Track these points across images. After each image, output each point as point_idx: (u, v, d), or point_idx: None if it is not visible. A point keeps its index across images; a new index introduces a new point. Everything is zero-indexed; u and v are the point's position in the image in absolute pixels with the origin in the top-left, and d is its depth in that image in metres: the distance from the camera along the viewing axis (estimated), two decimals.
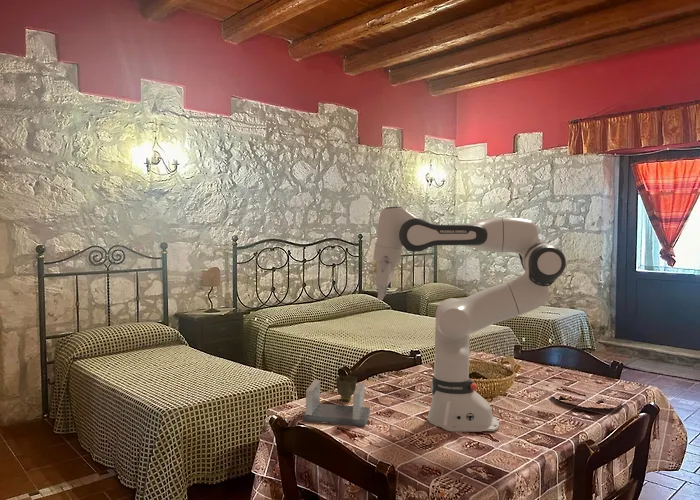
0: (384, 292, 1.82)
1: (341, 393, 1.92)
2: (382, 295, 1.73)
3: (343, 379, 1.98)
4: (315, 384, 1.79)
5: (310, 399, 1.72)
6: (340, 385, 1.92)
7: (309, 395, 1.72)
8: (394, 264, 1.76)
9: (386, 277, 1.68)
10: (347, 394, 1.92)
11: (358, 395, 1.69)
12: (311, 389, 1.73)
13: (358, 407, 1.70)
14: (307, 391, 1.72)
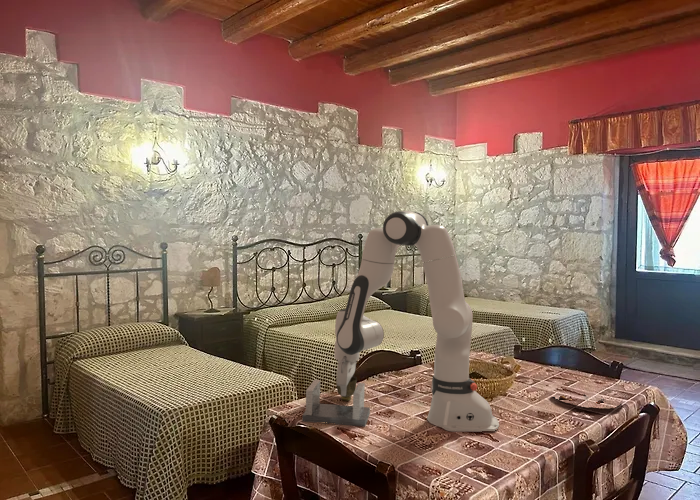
0: None
1: None
2: (345, 391, 1.89)
3: None
4: (315, 384, 1.79)
5: (310, 399, 1.72)
6: None
7: (309, 395, 1.72)
8: (353, 361, 1.92)
9: (345, 377, 1.84)
10: (347, 394, 1.92)
11: (358, 395, 1.69)
12: (311, 389, 1.73)
13: (358, 407, 1.70)
14: (307, 391, 1.72)
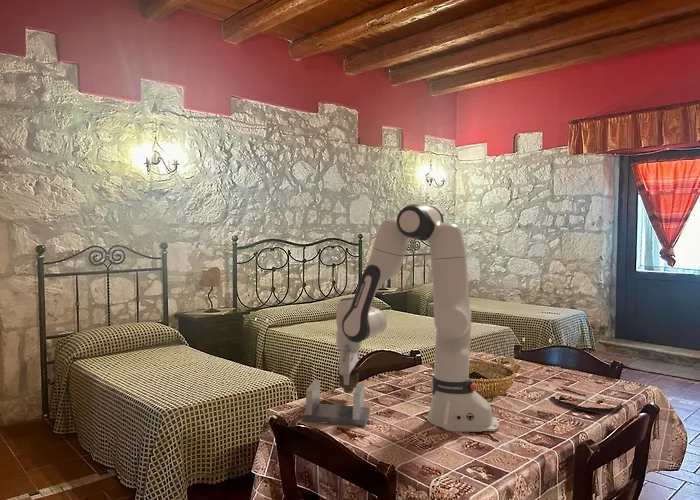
0: None
1: (343, 386, 1.92)
2: (348, 380, 1.90)
3: None
4: (315, 384, 1.79)
5: (310, 399, 1.72)
6: (342, 378, 1.91)
7: (309, 395, 1.72)
8: (355, 350, 1.92)
9: (347, 366, 1.84)
10: (349, 387, 1.92)
11: (358, 395, 1.69)
12: (311, 389, 1.73)
13: (358, 407, 1.70)
14: (307, 391, 1.72)
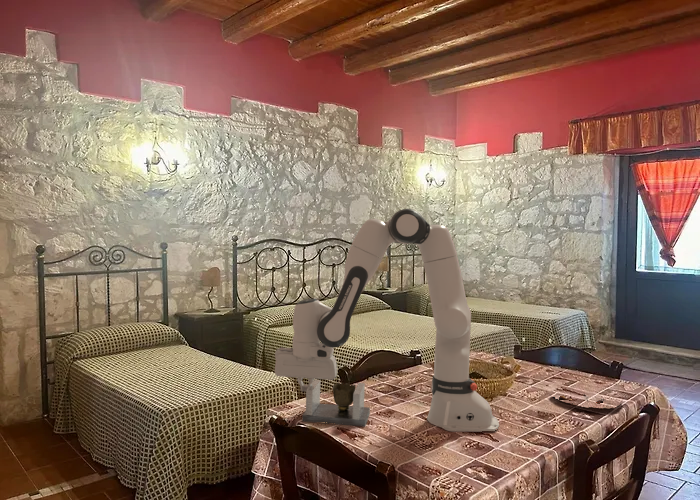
0: None
1: (338, 403, 1.76)
2: None
3: (341, 387, 1.81)
4: (315, 384, 1.79)
5: (310, 399, 1.72)
6: (337, 394, 1.75)
7: (309, 395, 1.72)
8: (299, 357, 1.75)
9: (275, 366, 1.78)
10: (344, 404, 1.75)
11: (358, 395, 1.69)
12: (311, 389, 1.73)
13: (358, 407, 1.70)
14: (307, 391, 1.72)
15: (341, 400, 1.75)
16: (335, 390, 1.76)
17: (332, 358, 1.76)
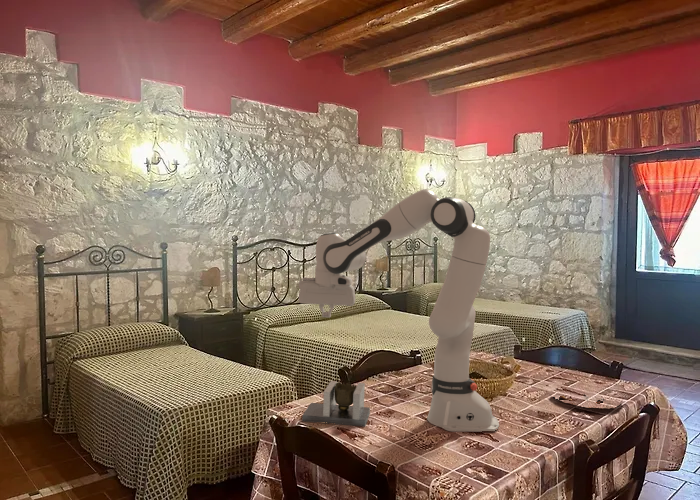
0: None
1: (339, 402, 1.76)
2: (322, 312, 1.95)
3: (342, 387, 1.81)
4: (332, 385, 1.78)
5: (328, 400, 1.71)
6: (338, 393, 1.75)
7: (327, 396, 1.71)
8: (321, 285, 1.93)
9: (299, 294, 1.95)
10: (345, 404, 1.75)
11: (358, 395, 1.69)
12: (329, 390, 1.72)
13: (358, 407, 1.70)
14: (325, 392, 1.71)
15: (342, 400, 1.75)
16: (336, 389, 1.75)
17: (351, 286, 1.93)
